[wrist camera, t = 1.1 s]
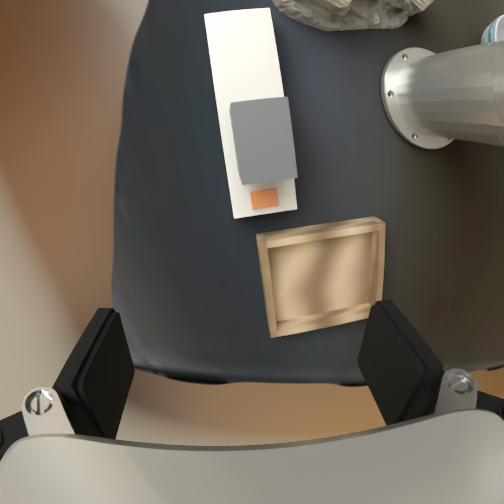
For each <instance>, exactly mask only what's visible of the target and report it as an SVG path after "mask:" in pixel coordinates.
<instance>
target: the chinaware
mask: <svg viewBox="0 0 504 504" xmlns="http://www.w3.org/2000/svg"><path fill="white" fill-rule="evenodd" d="M503 40H504V15H502V16H500V17H498V18H496V19H495V20H494V21H492V22H491V23H490V24H489V25H488V27H487V28H486V29H485V31H484V33H483V35H482V38H481V42H480V44H485V43H491V42H497V41H503Z"/></svg>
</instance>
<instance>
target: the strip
mask: <svg viewBox="0 0 504 504" xmlns="http://www.w3.org/2000/svg"><path fill="white" fill-rule="evenodd" d="M204 17H205V24H206V31H207V39H208V46H209V53H210V60H211V68H212V75H213V82H214V89H215V96H216V103H217V109H218V116H219V123H220V130H221V137H222V143H223V150H224V157H225V163H226V170H227V176H228V183H229V189H230V196H231V202H232V209H233V215H234V219H235V218H242V217H248V216H255V215H261V214H268V213H275V212H282V211H289V210H296V209H297V202H296V192H295V182H294V178H292V179H284V180H276V181H269V182H261V183H254V184H248V185H242V182H241V180H240V177H239V174H238V168H237V161H236V154H235V147H234V140H233V133H232V126H231V119H230V112H229V108H230V104H231V103H232V102H239V101H247V100H256V99H265V98H276V97H284V93H283V86H282V79H281V73H280V66H279V60H278V54H277V47H276V41H275V36H274V30H273V24H272V19H271V13H270V8H259V9H245V10H234V11H225V12H217V13H210V14H204Z"/></svg>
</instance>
